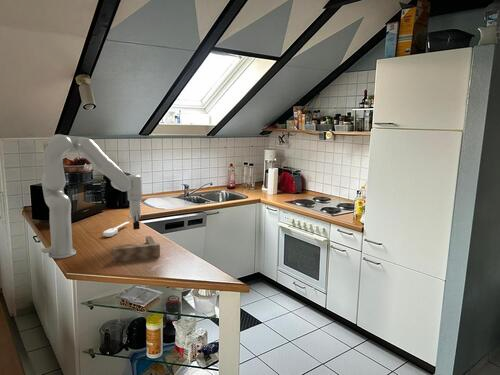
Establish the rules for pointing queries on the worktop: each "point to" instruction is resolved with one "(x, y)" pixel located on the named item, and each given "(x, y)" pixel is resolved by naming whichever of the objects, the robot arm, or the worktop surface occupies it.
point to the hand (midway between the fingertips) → (136, 228)
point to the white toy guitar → (113, 230)
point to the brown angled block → (137, 251)
